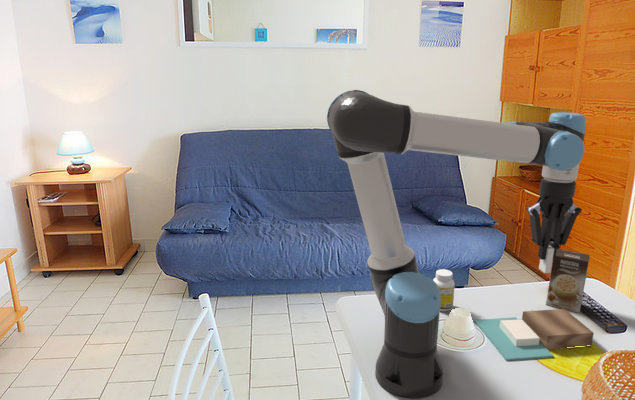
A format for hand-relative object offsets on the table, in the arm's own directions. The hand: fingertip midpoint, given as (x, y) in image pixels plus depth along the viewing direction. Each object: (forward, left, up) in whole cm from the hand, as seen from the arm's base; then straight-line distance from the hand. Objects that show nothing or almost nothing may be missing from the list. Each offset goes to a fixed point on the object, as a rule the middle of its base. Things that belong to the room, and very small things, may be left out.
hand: (544, 270), depth 118 cm
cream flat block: (-5, 0, -18) cm, 19 cm away
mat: (-7, 0, -19) cm, 20 cm away
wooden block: (+5, 0, -19) cm, 20 cm away
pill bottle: (-19, +18, -19) cm, 32 cm away
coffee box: (+17, +15, -19) cm, 30 cm away
